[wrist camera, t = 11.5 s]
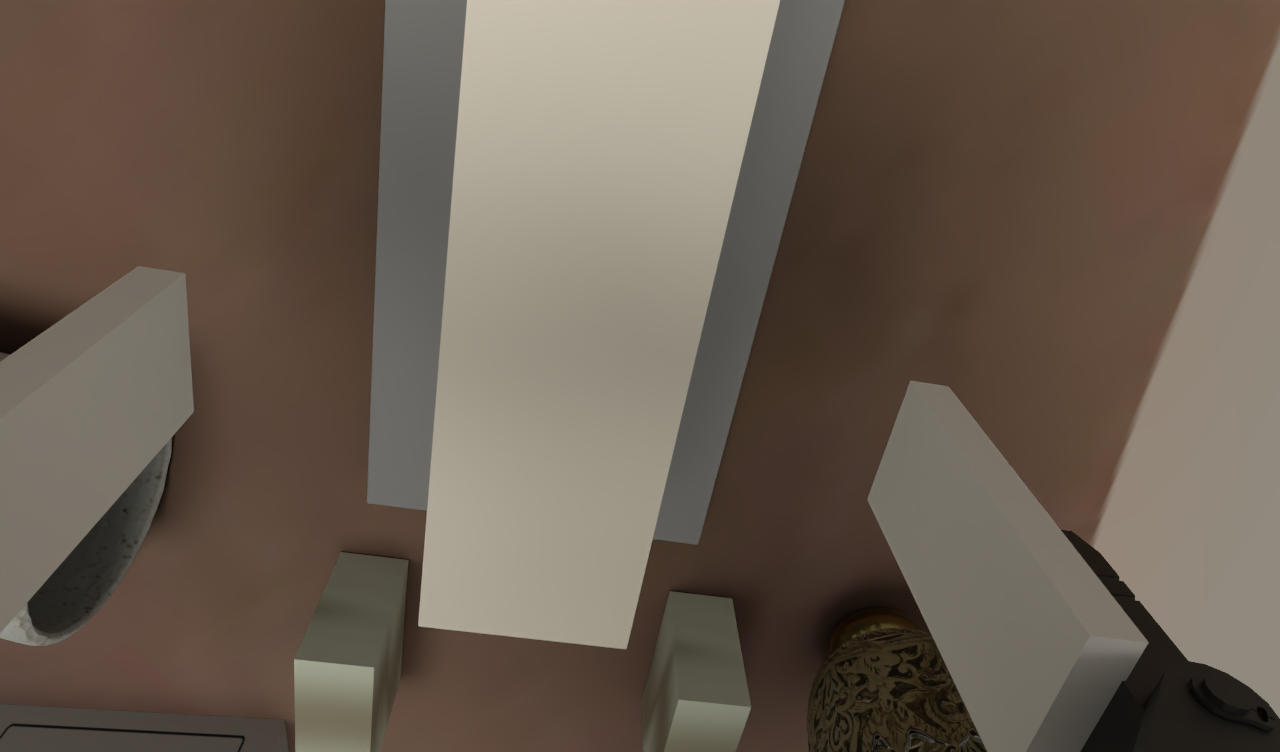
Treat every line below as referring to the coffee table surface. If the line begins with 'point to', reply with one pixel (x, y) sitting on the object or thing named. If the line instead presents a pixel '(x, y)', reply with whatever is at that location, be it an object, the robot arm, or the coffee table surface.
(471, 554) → the shelf board
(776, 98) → the peg stand
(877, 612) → the cup
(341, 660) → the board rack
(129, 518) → the ceramic mug
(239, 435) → the coffee table surface
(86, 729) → the cassette player
